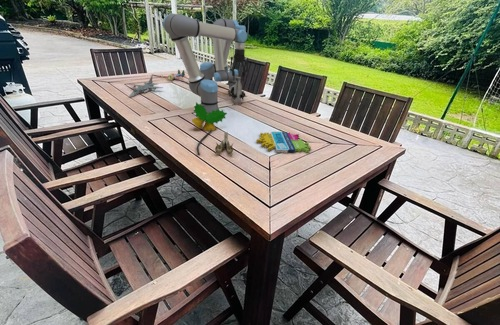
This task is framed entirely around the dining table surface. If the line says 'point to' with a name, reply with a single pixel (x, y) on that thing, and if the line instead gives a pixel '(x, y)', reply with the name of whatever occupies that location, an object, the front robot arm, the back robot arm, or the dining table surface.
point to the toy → (174, 76)
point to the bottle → (237, 93)
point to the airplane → (143, 87)
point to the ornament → (207, 117)
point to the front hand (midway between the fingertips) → (238, 80)
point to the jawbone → (224, 145)
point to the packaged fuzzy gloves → (283, 142)
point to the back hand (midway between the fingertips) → (238, 97)
